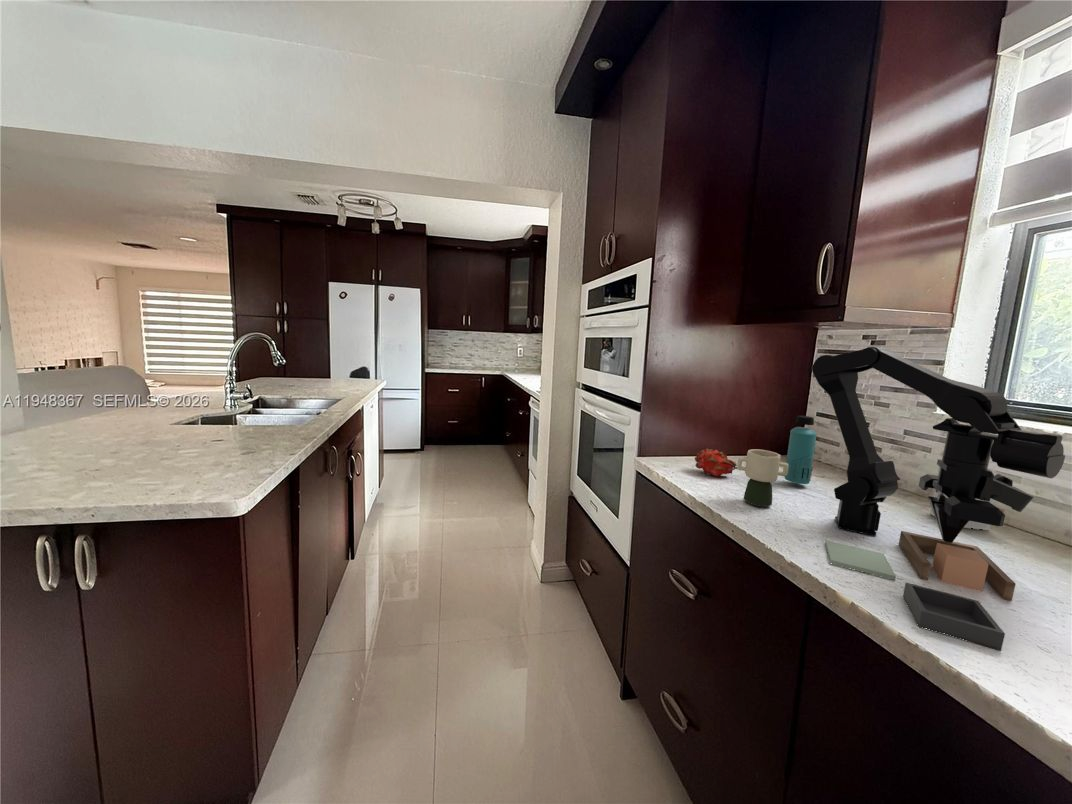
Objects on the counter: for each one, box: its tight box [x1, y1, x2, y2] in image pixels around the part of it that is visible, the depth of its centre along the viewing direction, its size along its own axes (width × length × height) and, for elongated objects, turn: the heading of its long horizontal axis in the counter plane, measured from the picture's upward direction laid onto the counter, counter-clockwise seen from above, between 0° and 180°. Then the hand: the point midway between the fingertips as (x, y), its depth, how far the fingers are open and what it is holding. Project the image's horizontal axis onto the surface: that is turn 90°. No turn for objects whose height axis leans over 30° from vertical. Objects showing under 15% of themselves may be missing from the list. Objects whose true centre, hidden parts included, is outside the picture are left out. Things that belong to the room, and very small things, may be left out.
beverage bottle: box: [783, 415, 818, 485], centre depth 115 cm, size 6×7×20 cm
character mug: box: [736, 448, 788, 508], centre depth 100 cm, size 11×7×13 cm, turn 69°
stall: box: [898, 530, 1017, 602], centre depth 74 cm, size 11×14×3 cm
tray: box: [902, 582, 1006, 652], centre depth 59 cm, size 8×8×2 cm
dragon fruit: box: [694, 448, 738, 479], centre depth 122 cm, size 8×8×12 cm
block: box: [931, 543, 989, 592], centre depth 70 cm, size 5×5×5 cm
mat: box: [824, 539, 897, 581], centre depth 75 cm, size 9×9×1 cm
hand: (947, 541), depth 75 cm, fingers closed
